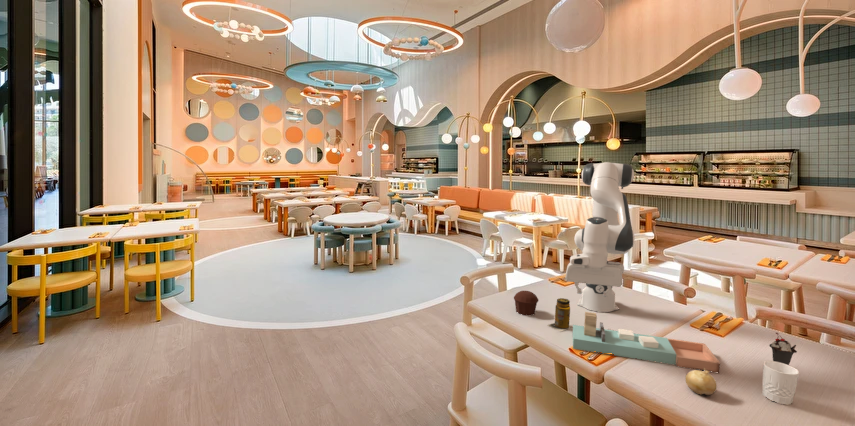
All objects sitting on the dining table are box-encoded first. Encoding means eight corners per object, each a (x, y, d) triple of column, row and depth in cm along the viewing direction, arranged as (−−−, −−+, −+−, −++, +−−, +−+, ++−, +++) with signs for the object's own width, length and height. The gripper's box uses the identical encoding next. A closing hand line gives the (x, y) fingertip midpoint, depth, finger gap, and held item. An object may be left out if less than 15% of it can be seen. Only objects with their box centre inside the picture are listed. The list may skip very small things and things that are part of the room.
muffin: (543, 313, 183) (544, 293, 182) (527, 318, 177) (528, 297, 176) (523, 306, 193) (524, 286, 192) (508, 310, 187) (508, 290, 186)
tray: (666, 346, 151) (667, 338, 150) (704, 352, 147) (704, 343, 146) (677, 366, 136) (678, 357, 135) (719, 373, 132) (720, 363, 131)
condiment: (573, 327, 168) (575, 300, 167) (560, 332, 163) (562, 304, 162) (559, 321, 174) (560, 296, 173) (546, 326, 169) (548, 299, 168)
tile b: (638, 340, 147) (638, 335, 146) (652, 342, 146) (653, 337, 145) (643, 346, 142) (643, 341, 141) (658, 348, 141) (658, 342, 141)
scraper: (583, 327, 159) (584, 308, 158) (602, 329, 156) (603, 310, 155) (584, 339, 147) (586, 319, 146) (604, 342, 145) (606, 321, 144)
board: (572, 333, 161) (573, 324, 161) (666, 347, 150) (667, 337, 149) (572, 348, 148) (573, 338, 148) (675, 365, 137) (676, 354, 136)
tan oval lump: (713, 402, 115) (716, 380, 114) (682, 391, 121) (684, 370, 120) (716, 391, 121) (719, 369, 120) (686, 381, 126) (688, 360, 126)
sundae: (760, 371, 133) (765, 329, 131) (778, 370, 134) (783, 329, 132) (779, 382, 127) (785, 338, 125) (798, 381, 127) (804, 338, 125)
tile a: (617, 333, 153) (618, 328, 153) (631, 335, 151) (632, 330, 151) (619, 338, 148) (619, 333, 148) (633, 340, 147) (634, 335, 146)
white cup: (758, 388, 123) (762, 358, 122) (791, 396, 119) (796, 365, 117) (761, 400, 117) (765, 368, 115) (797, 409, 112) (801, 377, 111)
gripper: (623, 260, 148) (620, 295, 150) (566, 255, 155) (564, 289, 157) (625, 264, 142) (622, 300, 144) (566, 259, 149) (564, 294, 151)
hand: (592, 294), depth 150 cm, fingers open, 8 cm apart
